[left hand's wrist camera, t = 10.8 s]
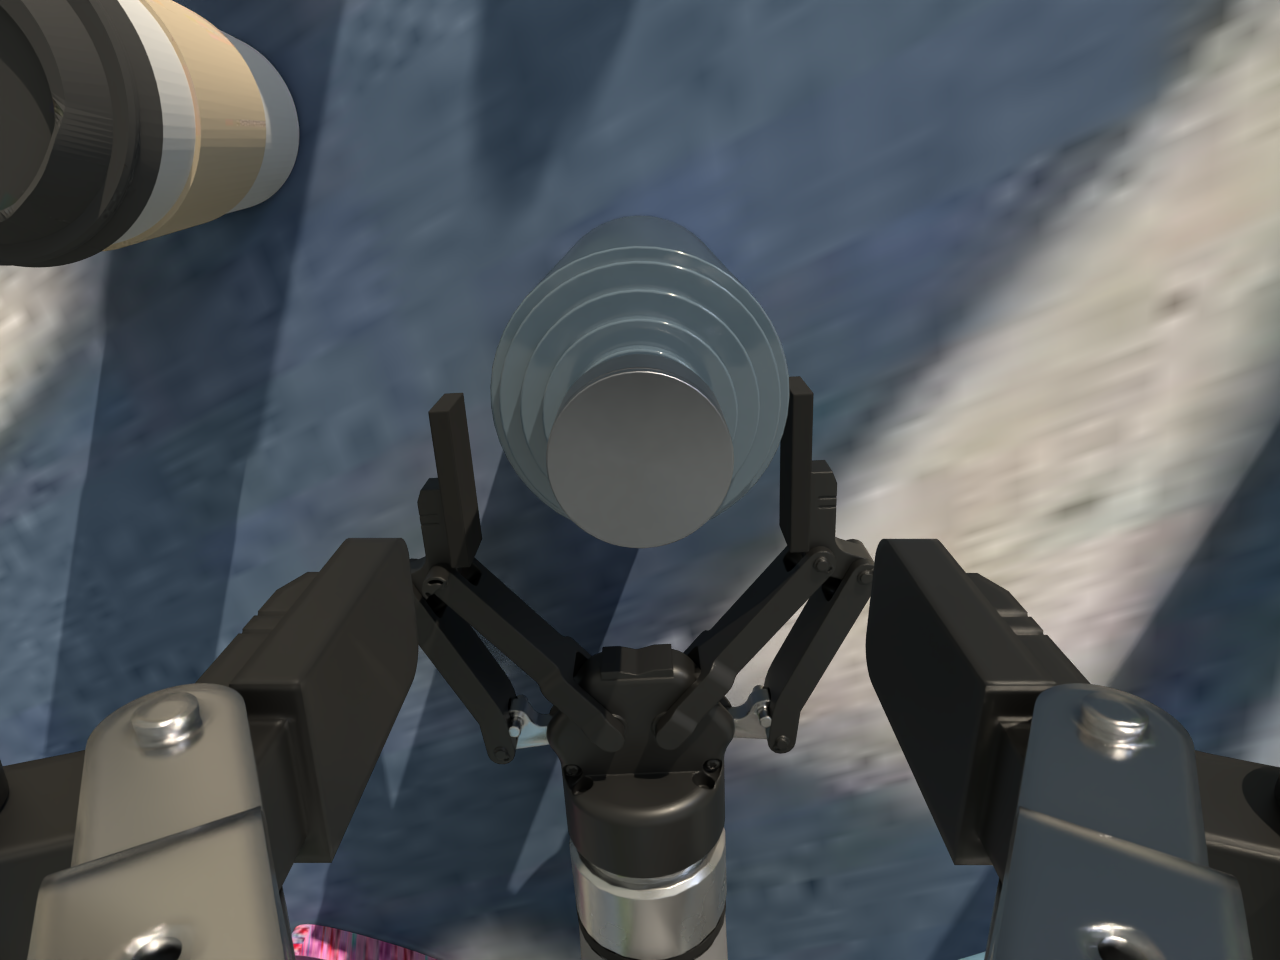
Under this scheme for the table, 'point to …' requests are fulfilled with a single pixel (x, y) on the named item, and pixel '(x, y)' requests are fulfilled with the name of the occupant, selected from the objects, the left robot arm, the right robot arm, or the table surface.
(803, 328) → the table surface
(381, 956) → the pink red block
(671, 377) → the metal cylinder
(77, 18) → the coffee cup
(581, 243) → the bottle
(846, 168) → the table surface
